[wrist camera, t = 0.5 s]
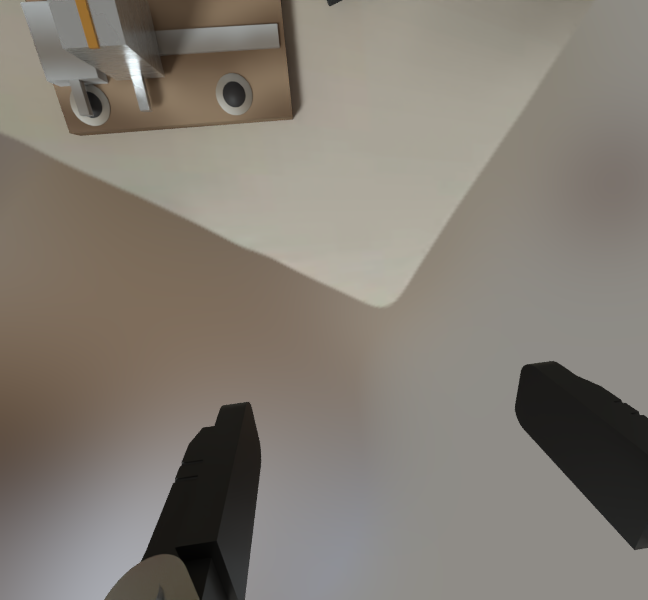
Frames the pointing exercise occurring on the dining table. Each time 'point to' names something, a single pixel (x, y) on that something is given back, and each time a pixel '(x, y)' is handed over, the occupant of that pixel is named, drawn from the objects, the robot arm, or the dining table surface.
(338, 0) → the ammunition clip
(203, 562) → the robot arm
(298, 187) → the dining table surface
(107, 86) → the sliding latch plate
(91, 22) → the grey latch block
